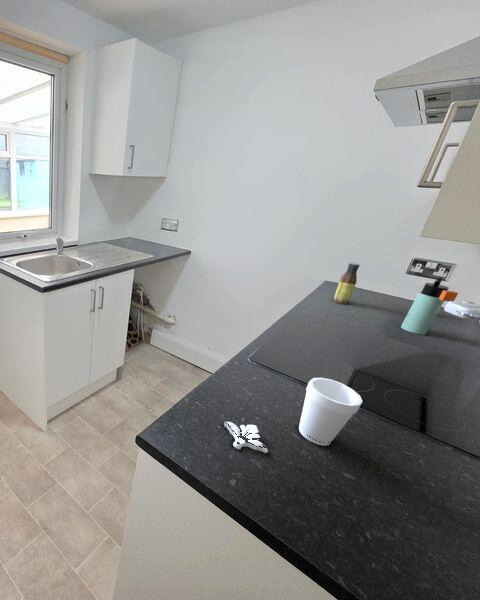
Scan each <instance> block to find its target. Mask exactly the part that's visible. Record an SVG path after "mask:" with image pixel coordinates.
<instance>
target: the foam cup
mask: <svg viewBox="0 0 480 600" xmlns="http://www.w3.org/2000/svg"><path fill="white" fill-rule="evenodd" d="M305 389H306V390H305V391H306V393H305V398H304V402H303V406H302V410H301V411H302V412H301V416H300V421H299V424H298V431H299V433H300V434H301V435H302V437H304V438H305V439H306V440H307V441H309V442H311V443H312V444H315V445H318V446H330V444H331V443H332V442H333V441H334V439H335V438H336V437H337V435H339V433H340V432H341V431H342V429H343V428H344V427H345V425H346V424H347V423H348V422H349V421H350V419H351V418H352V417H353V415H355V414H356V413H357V412H358V411H359V409H360V407H361V406H362V404H363V399H362V397H361V395H360V394H359V393H358V392H357V391H356V390H354V389H353V388H351V387H349V386H347V385H346V384H344V383H342V382H339V381H336V380H334V379H331V378H325V377H313V378H311V379H310V380H309V381H308V383H307V386H306V388H305ZM307 435H308V436H307ZM309 436H310V437H311V438H310V437H309ZM312 438H313V439H312ZM314 439H315V440H314ZM316 440H317V441H316ZM319 441H321V442H319ZM331 441H332V442H331ZM323 442H324V443H323ZM328 442H329V443H328Z"/></svg>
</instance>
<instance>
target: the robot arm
mask: <svg viewBox="0 0 480 600" xmlns="http://www.w3.org/2000/svg"><path fill="white" fill-rule="evenodd" d="M443 310H444V312H447V313H449V314H451V315H453V316H456V317H458V318H462V319H465V320H472V321H480V304H479V303H476V302H475V301H474V302H472V301H464V300H463V301H462V302H461V301H455V300H454V301H447V303H446V304H445V306H444V308H443Z"/></svg>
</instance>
